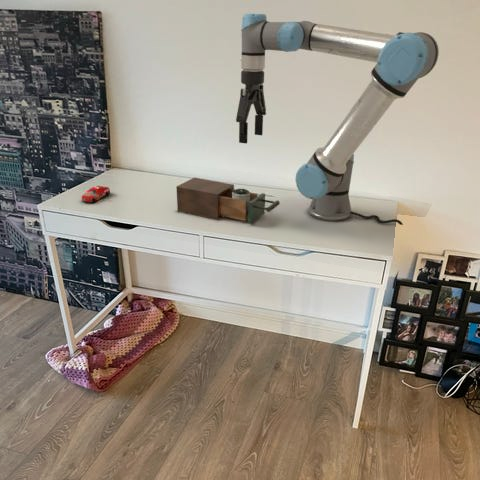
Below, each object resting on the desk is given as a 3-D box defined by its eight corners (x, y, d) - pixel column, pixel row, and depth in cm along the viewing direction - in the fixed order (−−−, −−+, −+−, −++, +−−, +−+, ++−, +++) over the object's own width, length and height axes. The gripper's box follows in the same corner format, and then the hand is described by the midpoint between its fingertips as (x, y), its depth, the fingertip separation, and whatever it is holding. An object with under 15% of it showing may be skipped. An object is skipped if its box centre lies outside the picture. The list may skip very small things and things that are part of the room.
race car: (90, 204, 181) (88, 194, 178) (79, 202, 183) (77, 192, 180) (113, 194, 190) (111, 184, 188) (102, 192, 192) (100, 182, 190)
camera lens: (248, 208, 175) (248, 187, 171) (250, 215, 170) (251, 193, 165) (230, 209, 174) (231, 187, 170) (233, 215, 169) (233, 193, 165)
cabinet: (233, 209, 180) (234, 184, 175) (217, 220, 171) (217, 194, 166) (195, 201, 186) (194, 177, 181) (177, 211, 177) (176, 186, 172)
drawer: (280, 216, 172) (281, 196, 168) (267, 227, 164) (269, 206, 160) (226, 205, 180) (226, 186, 176) (211, 215, 172) (211, 195, 168)
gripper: (256, 66, 167) (254, 130, 178) (225, 73, 147) (225, 145, 159) (277, 67, 164) (273, 132, 176) (248, 74, 145) (246, 147, 157)
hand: (251, 138), depth 167 cm, fingers open, 13 cm apart
